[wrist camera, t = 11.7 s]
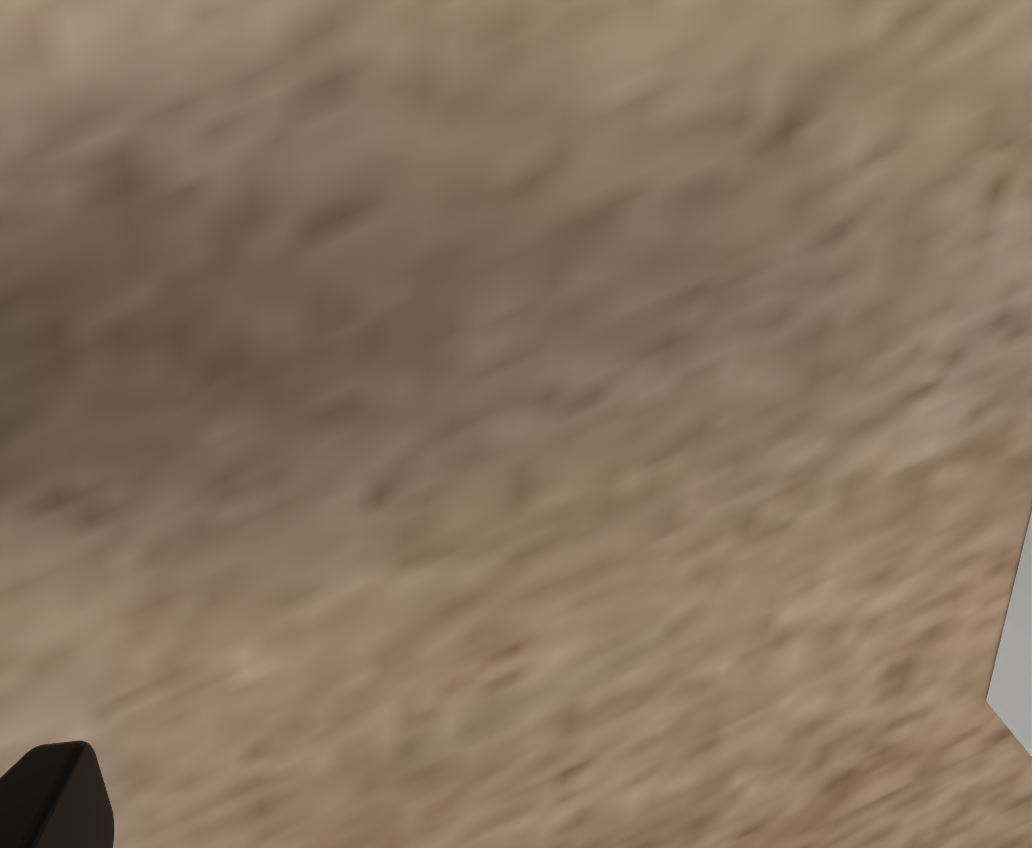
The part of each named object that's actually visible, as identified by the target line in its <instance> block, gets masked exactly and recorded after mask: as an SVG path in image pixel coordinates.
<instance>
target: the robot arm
mask: <svg viewBox="0 0 1032 848" xmlns="http://www.w3.org/2000/svg"><path fill="white" fill-rule="evenodd" d="M113 841H114V817H113V811H112V807H111V804H110V801H109V797H108V794H107V791H106V787H105V784H104V781H103V777H102V774H101V771H100V767H99V764H98V761H97V757H96V754H95V752H94V750H93V748H92V747H91V745H90V744H89V743H87V742H84V741H71V742H62V743H53V744H44V745H40V746H37V747H35V748H33V749H31V750H30V751H29V752H28V753H26V754H25V755H24V756H23V757H22V758H21V759H20V760H19V761H18V762H17V763H16V764H15V765H13V766H12V767H11V768H10V769H9V770H8V771H7V772H6V773H5V774H4V775H3V776H2V777H1V778H0V848H113Z"/></svg>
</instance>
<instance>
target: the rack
mask: <svg viewBox="0 0 1032 848" xmlns="http://www.w3.org/2000/svg"><path fill="white" fill-rule="evenodd" d="M986 701H987V702H988V703H989V705H990V706H991V707H992V708H993V710H994V711H995V712H996V713H997V715H998V716H999V717H1000V718H1001V719H1002V721H1003V722H1004V723H1005V724H1006V726H1007V727H1008V728H1009V729H1010V731H1011V732H1012V733H1013V734H1014V735H1015V737H1016V738H1017V739H1018V740H1019V742H1020V743H1021V744H1022V745H1023V747H1024V748H1025V749H1026V750H1027V751H1028V753H1029V754H1030V755H1031V756H1032V512H1031V516H1030V520H1029V524H1028V529H1027V533H1026V537H1025V541H1024V545H1023V549H1022V554H1021V558H1020V562H1019V566H1018V570H1017V574H1016V578H1015V583H1014V587H1013V591H1012V595H1011V599H1010V603H1009V607H1008V612H1007V616H1006V620H1005V624H1004V628H1003V632H1002V637H1001V641H1000V645H999V649H998V653H997V657H996V661H995V666H994V670H993V674H992V678H991V682H990V686H989V690H988V695H987V699H986Z"/></svg>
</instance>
